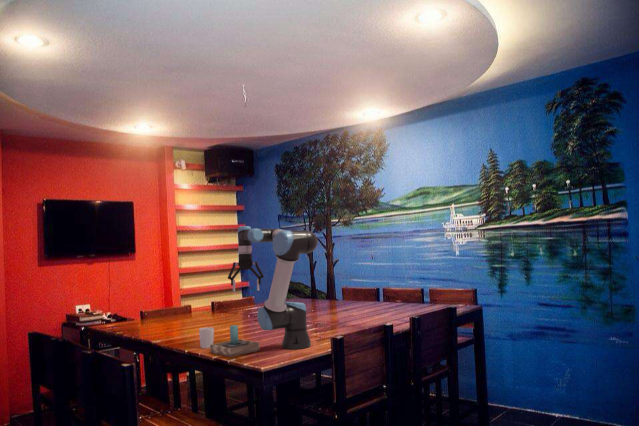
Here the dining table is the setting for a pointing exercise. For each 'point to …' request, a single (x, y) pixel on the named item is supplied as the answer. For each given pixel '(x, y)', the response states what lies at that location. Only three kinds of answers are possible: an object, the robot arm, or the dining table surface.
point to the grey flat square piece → (234, 348)
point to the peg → (234, 334)
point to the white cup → (206, 337)
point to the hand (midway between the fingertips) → (246, 291)
